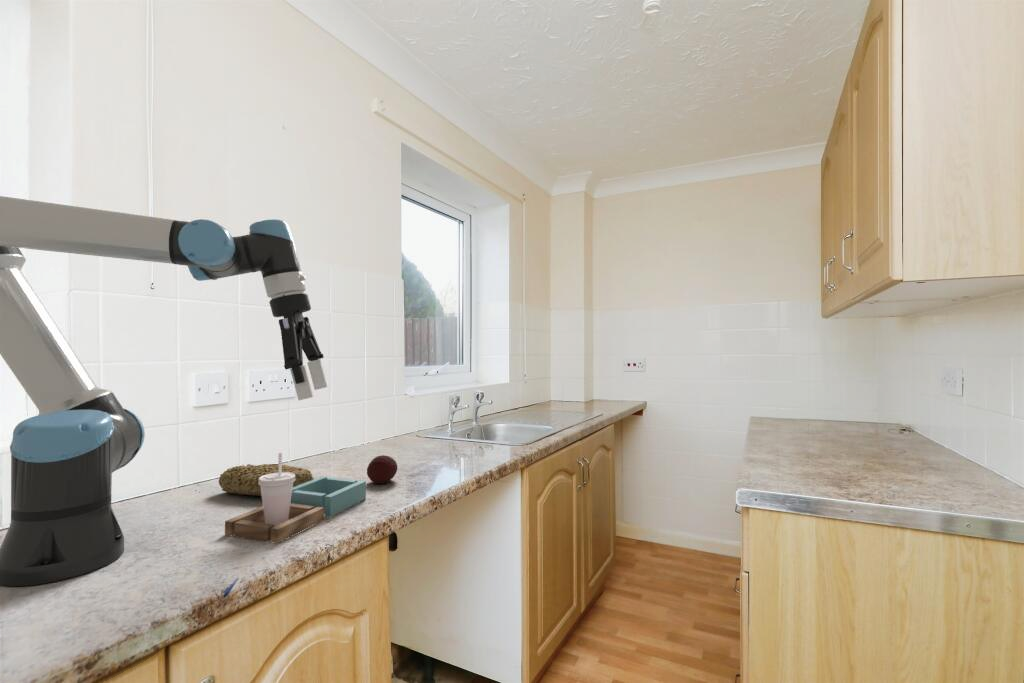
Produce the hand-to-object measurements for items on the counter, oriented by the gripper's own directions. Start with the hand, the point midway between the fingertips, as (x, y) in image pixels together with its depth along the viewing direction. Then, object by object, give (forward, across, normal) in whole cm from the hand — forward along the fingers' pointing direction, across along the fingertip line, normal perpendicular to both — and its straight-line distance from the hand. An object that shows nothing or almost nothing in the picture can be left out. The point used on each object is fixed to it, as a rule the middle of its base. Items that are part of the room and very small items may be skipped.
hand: (314, 393), depth 103 cm
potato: (+28, +17, -6) cm, 33 cm away
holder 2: (+24, +1, +4) cm, 25 cm away
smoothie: (+22, -12, +10) cm, 27 cm away
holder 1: (+22, -12, +10) cm, 27 cm away
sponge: (+22, +11, +18) cm, 31 cm away
